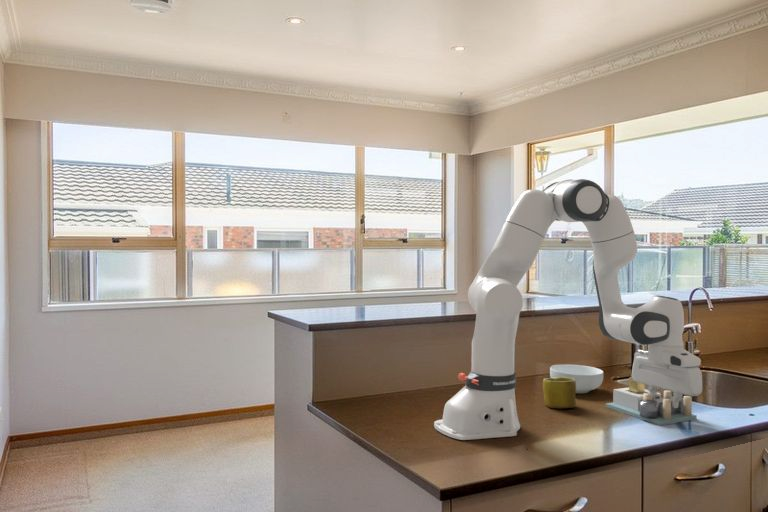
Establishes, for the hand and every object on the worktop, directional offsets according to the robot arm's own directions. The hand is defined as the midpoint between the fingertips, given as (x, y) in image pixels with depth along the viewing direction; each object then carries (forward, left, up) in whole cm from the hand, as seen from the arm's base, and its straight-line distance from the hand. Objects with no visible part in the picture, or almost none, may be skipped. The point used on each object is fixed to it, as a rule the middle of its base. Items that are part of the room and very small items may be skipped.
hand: (664, 404), depth 161 cm
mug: (-18, +22, -4) cm, 29 cm away
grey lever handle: (-1, 0, -3) cm, 3 cm away
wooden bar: (0, +9, -3) cm, 10 cm away
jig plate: (0, +5, -4) cm, 6 cm away
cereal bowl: (-1, +33, -4) cm, 33 cm away
